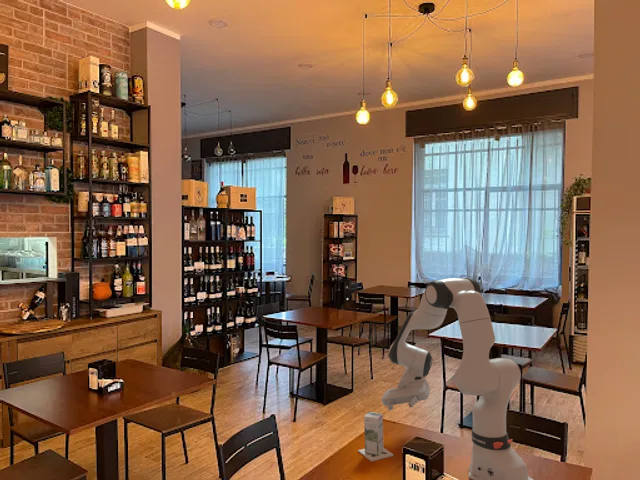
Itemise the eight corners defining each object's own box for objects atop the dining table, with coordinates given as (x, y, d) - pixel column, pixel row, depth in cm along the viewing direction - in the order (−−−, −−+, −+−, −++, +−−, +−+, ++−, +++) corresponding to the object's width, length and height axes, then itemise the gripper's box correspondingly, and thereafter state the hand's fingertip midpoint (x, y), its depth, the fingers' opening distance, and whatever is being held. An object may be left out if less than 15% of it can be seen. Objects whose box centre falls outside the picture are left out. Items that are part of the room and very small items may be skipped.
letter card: (393, 455, 186) (393, 454, 186) (371, 461, 182) (371, 459, 182) (379, 446, 195) (379, 444, 195) (358, 451, 191) (358, 449, 191)
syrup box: (384, 450, 190) (383, 412, 190) (378, 456, 185) (377, 417, 185) (370, 447, 192) (369, 410, 192) (364, 453, 187) (363, 415, 187)
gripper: (384, 384, 211) (374, 404, 200) (427, 376, 201) (419, 396, 189) (390, 396, 212) (380, 417, 201) (434, 389, 202) (426, 410, 190)
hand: (400, 407), depth 195 cm, fingers open, 8 cm apart
